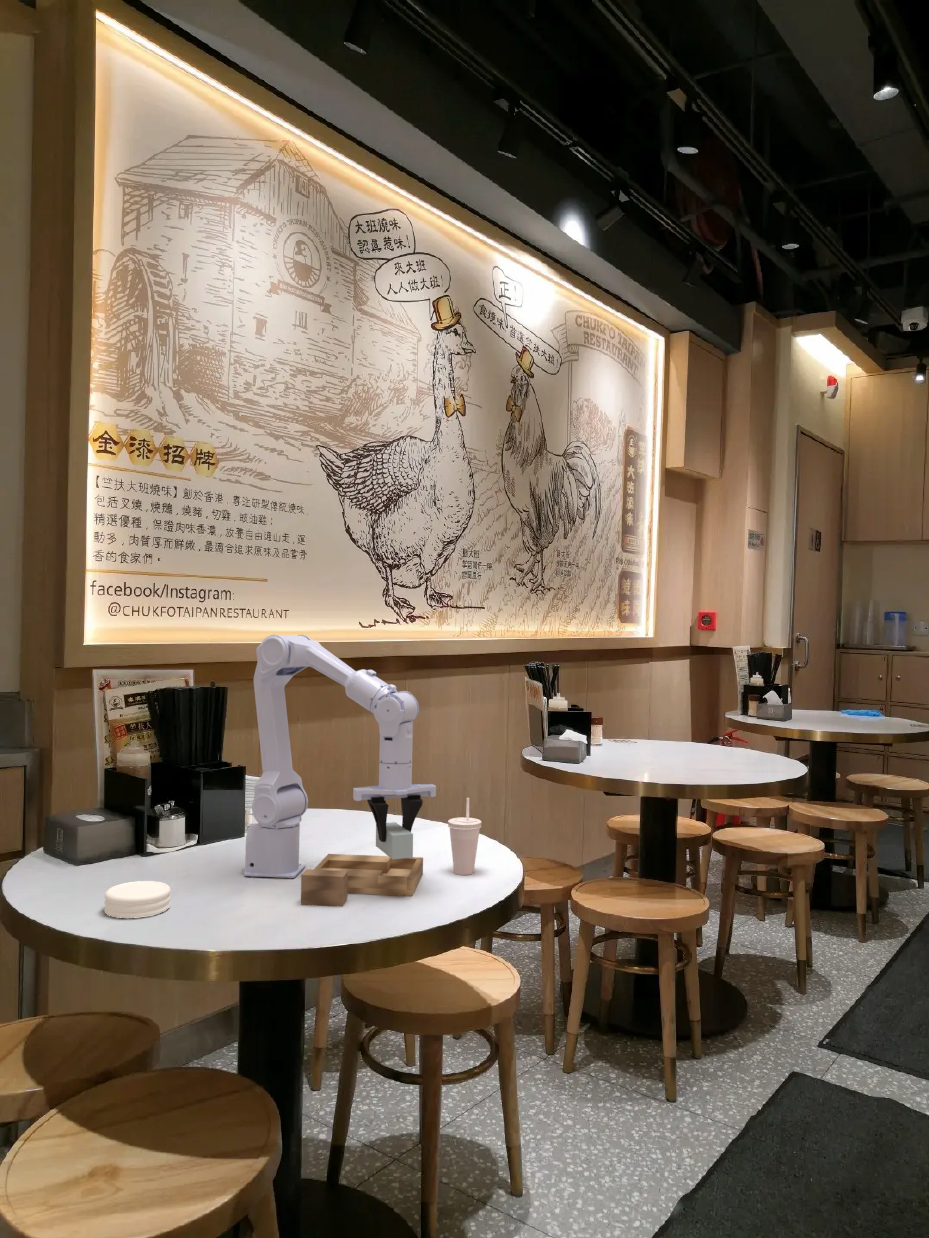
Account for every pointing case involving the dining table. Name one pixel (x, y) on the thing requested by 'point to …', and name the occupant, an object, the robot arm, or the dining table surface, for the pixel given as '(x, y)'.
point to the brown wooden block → (324, 888)
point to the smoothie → (464, 842)
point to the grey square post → (396, 842)
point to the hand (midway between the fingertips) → (394, 839)
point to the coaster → (137, 899)
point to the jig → (376, 873)
